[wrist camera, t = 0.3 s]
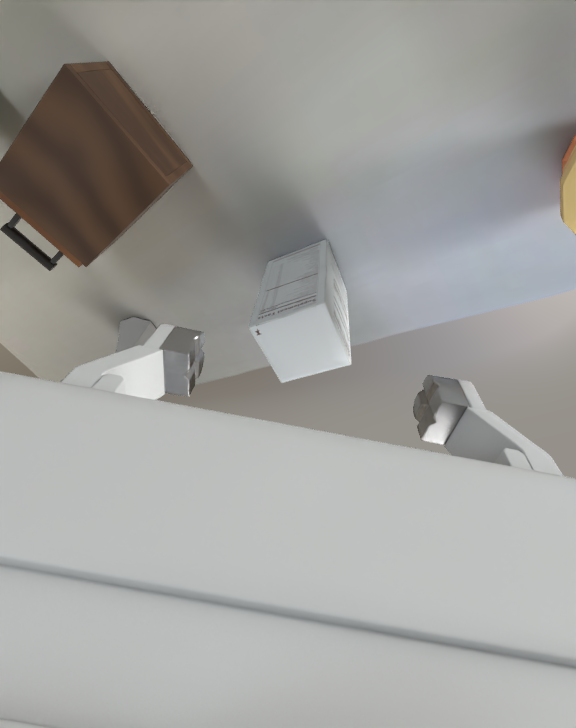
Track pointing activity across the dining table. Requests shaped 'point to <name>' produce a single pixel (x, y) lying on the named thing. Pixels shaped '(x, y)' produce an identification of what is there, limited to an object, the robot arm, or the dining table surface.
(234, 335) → the dining table surface
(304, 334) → the supplement box
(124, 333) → the flask
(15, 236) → the drawer
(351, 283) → the dining table surface
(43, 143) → the cabinet
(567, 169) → the potted cactus
